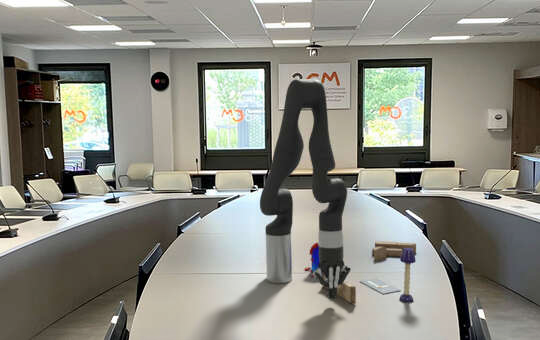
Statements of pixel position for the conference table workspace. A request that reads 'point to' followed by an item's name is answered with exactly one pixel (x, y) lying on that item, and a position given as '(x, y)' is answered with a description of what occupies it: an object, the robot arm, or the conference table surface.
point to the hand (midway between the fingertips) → (331, 298)
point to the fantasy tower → (314, 258)
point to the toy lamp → (407, 273)
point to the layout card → (380, 286)
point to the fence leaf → (347, 292)
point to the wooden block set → (390, 249)
